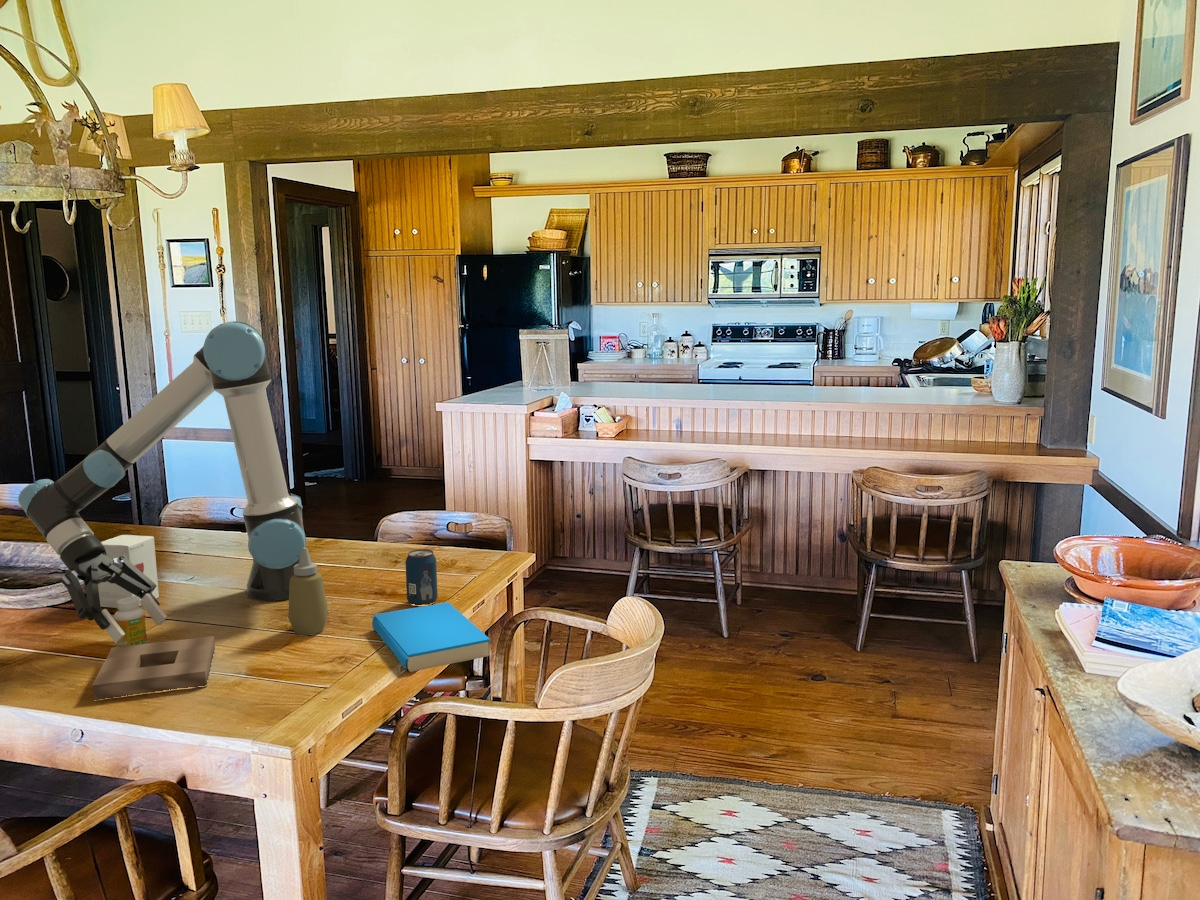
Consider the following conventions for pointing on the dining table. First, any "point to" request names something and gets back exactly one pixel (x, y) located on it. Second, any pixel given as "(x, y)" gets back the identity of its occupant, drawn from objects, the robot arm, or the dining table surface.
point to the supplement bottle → (131, 622)
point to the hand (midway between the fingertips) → (142, 629)
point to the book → (430, 636)
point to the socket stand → (154, 667)
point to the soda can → (421, 577)
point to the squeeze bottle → (307, 597)
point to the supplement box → (138, 554)
